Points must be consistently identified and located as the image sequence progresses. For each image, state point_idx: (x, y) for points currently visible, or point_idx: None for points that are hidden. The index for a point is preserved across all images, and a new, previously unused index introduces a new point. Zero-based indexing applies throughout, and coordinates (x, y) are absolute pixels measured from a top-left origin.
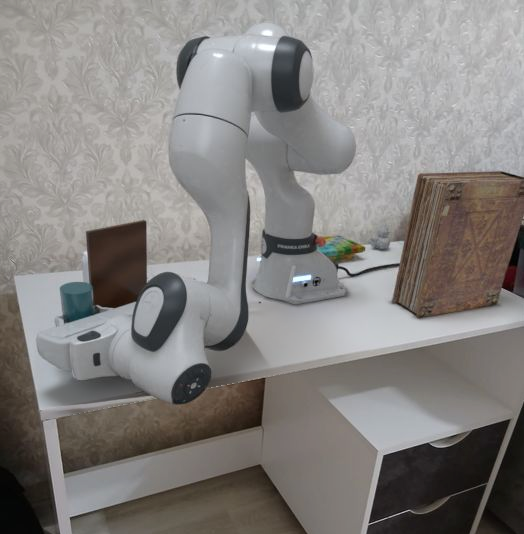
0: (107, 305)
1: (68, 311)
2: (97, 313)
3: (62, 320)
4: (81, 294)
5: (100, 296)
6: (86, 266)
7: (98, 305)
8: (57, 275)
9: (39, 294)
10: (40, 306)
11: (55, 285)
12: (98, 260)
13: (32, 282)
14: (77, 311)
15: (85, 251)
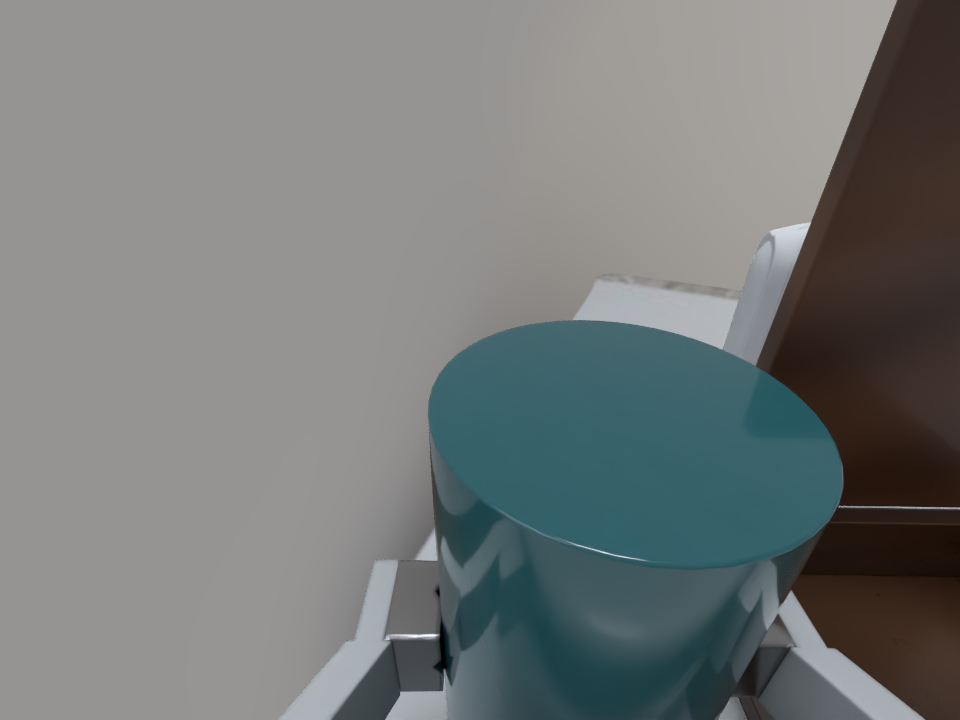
0: None
1: (444, 607)
2: (749, 670)
3: (367, 657)
4: (609, 571)
5: None
6: (762, 280)
7: None
8: (674, 297)
9: None
10: None
11: (656, 317)
12: (895, 226)
13: (612, 298)
14: (510, 683)
15: (780, 228)
